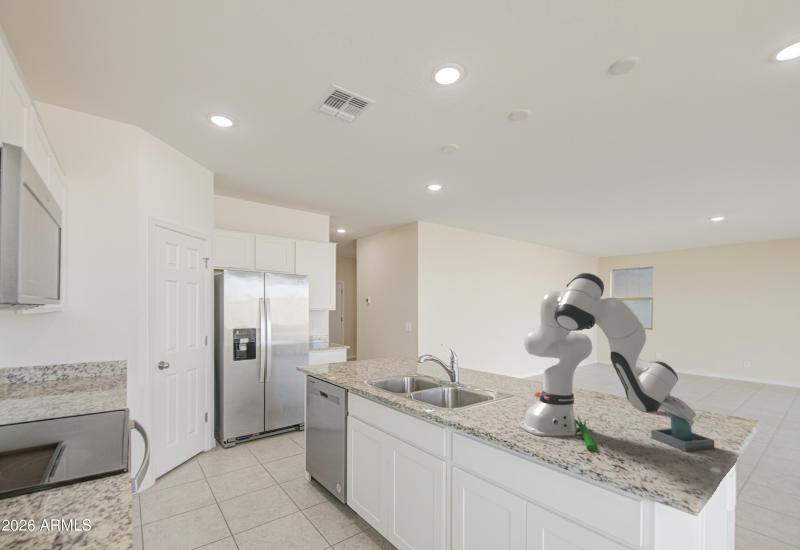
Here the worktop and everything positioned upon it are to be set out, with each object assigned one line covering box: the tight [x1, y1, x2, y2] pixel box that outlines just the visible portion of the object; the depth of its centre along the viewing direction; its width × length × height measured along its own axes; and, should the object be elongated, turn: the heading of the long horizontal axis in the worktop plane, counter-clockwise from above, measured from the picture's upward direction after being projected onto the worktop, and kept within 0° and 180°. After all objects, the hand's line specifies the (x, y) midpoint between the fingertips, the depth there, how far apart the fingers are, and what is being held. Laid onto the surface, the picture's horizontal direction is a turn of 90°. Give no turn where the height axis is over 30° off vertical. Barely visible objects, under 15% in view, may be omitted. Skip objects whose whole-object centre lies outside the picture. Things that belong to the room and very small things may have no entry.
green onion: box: [575, 414, 597, 452], centre depth 140 cm, size 5×3×30 cm
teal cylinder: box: [669, 413, 693, 442], centre depth 134 cm, size 6×6×11 cm
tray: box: [650, 427, 715, 453], centre depth 134 cm, size 13×13×3 cm
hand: (682, 419), depth 134 cm, fingers open, 7 cm apart
